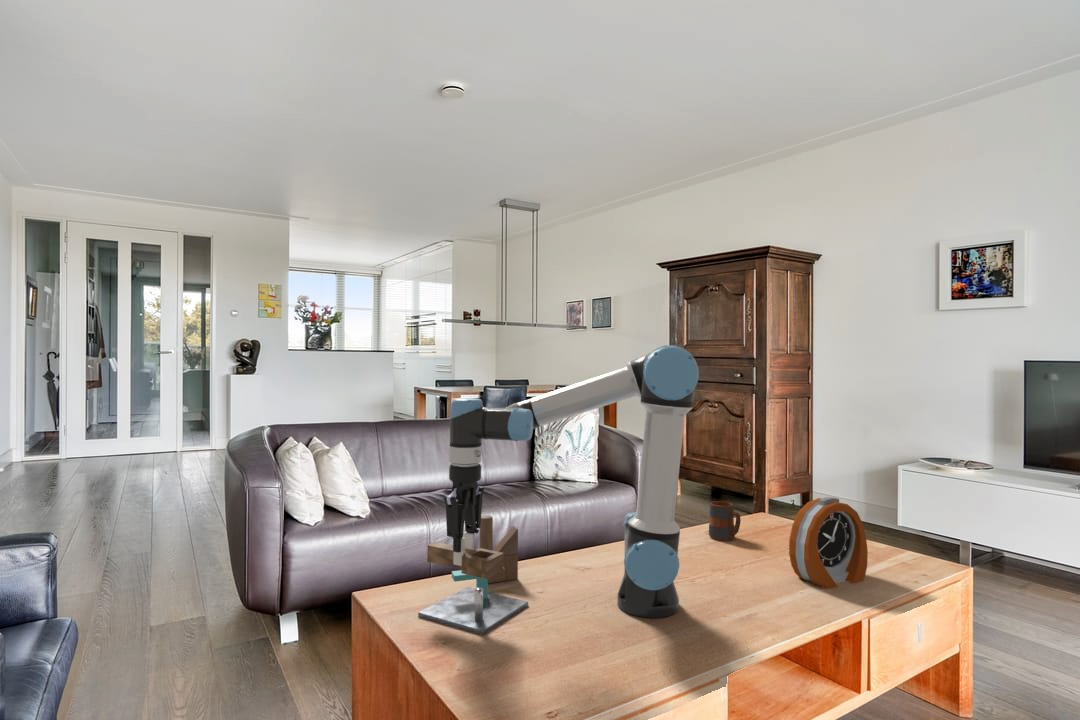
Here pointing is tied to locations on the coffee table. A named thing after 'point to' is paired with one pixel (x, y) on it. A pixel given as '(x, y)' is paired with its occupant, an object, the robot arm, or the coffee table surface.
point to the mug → (723, 521)
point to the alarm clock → (828, 543)
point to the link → (468, 560)
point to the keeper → (479, 581)
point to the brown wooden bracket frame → (501, 549)
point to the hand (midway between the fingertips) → (463, 562)
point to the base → (473, 610)
